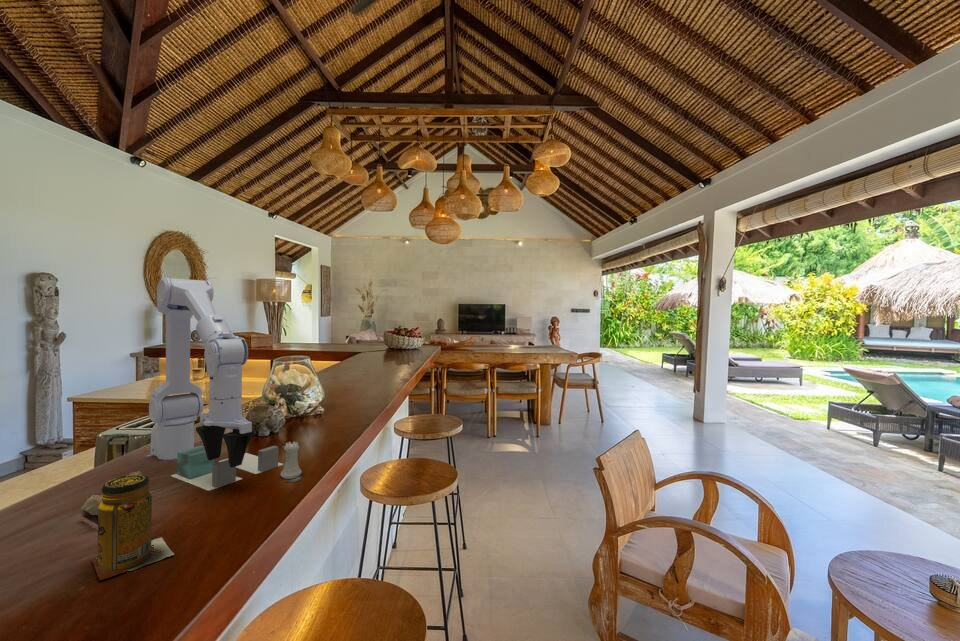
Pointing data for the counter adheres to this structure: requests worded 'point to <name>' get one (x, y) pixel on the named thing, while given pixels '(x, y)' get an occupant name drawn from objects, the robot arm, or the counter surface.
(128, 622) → the counter surface
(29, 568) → the counter surface
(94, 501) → the seashell
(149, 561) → the condiment
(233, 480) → the cream strip
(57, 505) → the counter surface
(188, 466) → the teal block
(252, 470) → the cream and grey bookend
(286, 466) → the rook chess piece
